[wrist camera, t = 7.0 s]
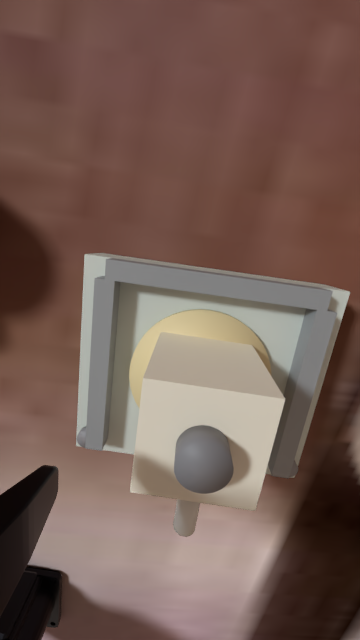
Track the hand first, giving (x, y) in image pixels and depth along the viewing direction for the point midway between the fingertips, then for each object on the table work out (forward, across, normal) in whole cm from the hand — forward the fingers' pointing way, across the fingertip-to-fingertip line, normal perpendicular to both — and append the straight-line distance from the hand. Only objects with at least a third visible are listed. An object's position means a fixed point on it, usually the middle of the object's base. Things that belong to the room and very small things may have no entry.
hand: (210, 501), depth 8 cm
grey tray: (+11, 0, 0) cm, 11 cm away
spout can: (+8, 0, +1) cm, 8 cm away
